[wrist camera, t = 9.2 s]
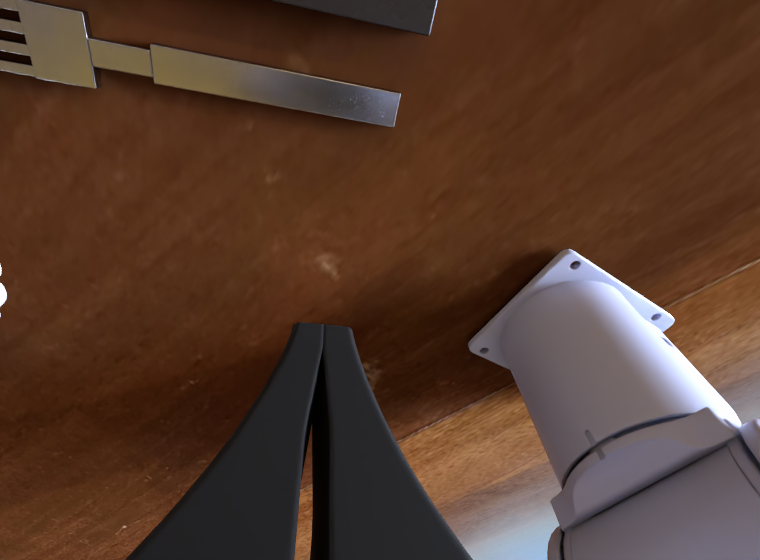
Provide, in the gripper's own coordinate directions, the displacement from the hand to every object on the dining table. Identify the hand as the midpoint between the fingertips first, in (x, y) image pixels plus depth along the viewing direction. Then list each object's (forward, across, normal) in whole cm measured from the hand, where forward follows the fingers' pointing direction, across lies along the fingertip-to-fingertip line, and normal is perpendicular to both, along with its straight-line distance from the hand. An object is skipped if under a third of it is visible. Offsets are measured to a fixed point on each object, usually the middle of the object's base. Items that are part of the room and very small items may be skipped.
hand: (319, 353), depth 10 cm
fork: (+10, +6, -4) cm, 12 cm away
